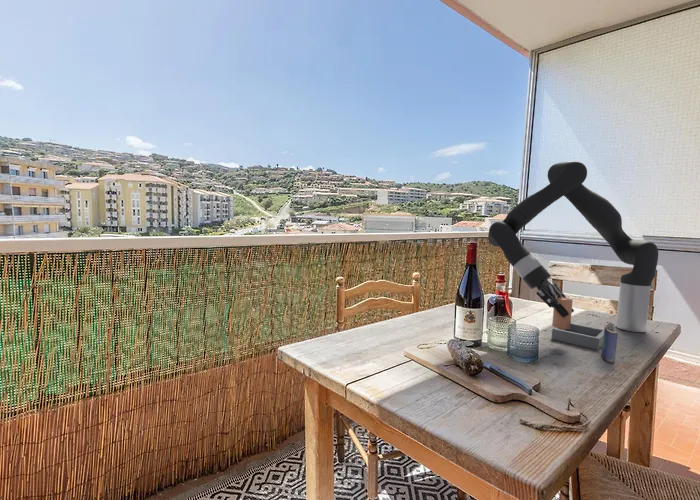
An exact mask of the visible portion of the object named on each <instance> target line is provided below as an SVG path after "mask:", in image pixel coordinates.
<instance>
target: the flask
mask: <svg viewBox="0 0 700 500" xmlns="http://www.w3.org/2000/svg"><path fill="white" fill-rule="evenodd" d="M603 330H604V338H603V345H602V346H601V354H600V357H601V358H602V359H603V361H604V362H606V363H609V364H614V363H615V362H616V353H617V344H618V337H619V333H618V331H617V329H616V322H615V323H613V322H610V321H607V322H606V325H605V326H604V329H603Z"/></svg>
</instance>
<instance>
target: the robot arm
mask: <svg viewBox="0 0 700 500" xmlns="http://www.w3.org/2000/svg"><path fill="white" fill-rule="evenodd" d="M587 176H588V169H587V167H586V165H585V164H584V163H583V162H581V161H576V160H570V161H563V162H557V163H555V164H552V165H551V166H550V167H549V169H548V170H547V179H548V182H549V184H548V185H546V186H545V187H543V188H541V189H540V190H537V191H536V192H535V193H533V194H531V195H529V196H528V197H526V198H525V199H523V200H521V201H520V202H519V203H517V205H516V206H515V207H514V208H512V209H511V210H510V211H509V212H508V213H507V215H506V216H505V218H504V219H503V220H502V221H496V222H493V223H492V224H491V225H490V227H489V229H488V234H487V235H488V237H487V239H488V241H489V244H490V245H491V246H494V247H498V248H500V249H501V250H502V252H503V255H504V257H505V259H506V260H507V261H508V263H509V264H510V266H512V267H513V269H514V270H515V271H516V274H518V276H519V277H520V278H521V279H522V280H523V282H524V283H526V285H527V286H528V287H529V289H531V290H533V289H537V290H538V291H537V292H536V295H537V296H538V297H539V298H540V300H542V301H543V302H544V303H545V304H546V305H547V306H548V307H549V308H553V309H554V308H555V309H556V311H557V312H558V313H559V314H560V315H561V316H562V317H563V318H564V317H566V316H567V315H569V312H568V311H567V310H566V309H565V308H564V307H563V306H562V304H560V302H559V300H558V299H557V297H564V298H567V296H566V295H565V294H564V292H563V291H562V290H561V288H560V287H559V286H558V284H557V283H554V284H553V283H551V282H550V281H549V279H550V278H551V277H552V276H551V274H550V273H549V271H548V270H547V269H546V268H545V267H544V266H543V265H542V263H541V262H540V261H539V260H538V259H537V258H536V256H533V254H531V252H530V251H529V250H528V249H527V247H525V246H524V245H523V244H522V242H521V240H520V239H519V236H517V234H518V233H519V231H521V230H522V229H523V228H524V227H525V226H527V225H528V224H529V223H530V222H531V221H532V220H533V219H535V218H536V217H537V216H538V215H539V214H540V213H542V212H544V210H545V209H547V208H548V207H550V206H551V205H552V204H553V203H554V202H557V201H558V200H559V199H561V198H562V197H565V198H566V199H567V200H568V201H569V202H570V203H571V204H572V206H573V207H574V208H575V209H576V210H577V211H578V212H579V213H580V214H581V215H582V216H583V218H584V219H585V220H586V221H587V222H588V223H589V224H590V225H591V226H592V228H594V230H596V231H597V233H599V235H600V236H601V237H602V238H603V239H604V240H605V241H606V242H607V243H608V245H609V246H610V247H611V249H612V250H613V252H614V254H615V255H616V256H617V258H618V259H619V260H620V261H621V262H622V263H624V264H627V265H630V266H631V265H632V266H633V267H632V270H631V271H630V272H628V273H624V274H622V275H621V277H620V285H619V293H618V301H617V311H616V320H615V328H618V329H620V330H624V331H627V332H634V333H646V332H647V326H648V325H647V324H648V318H649V309H650V308H649V307H650V300H651V299H650V298H651V292H652V291H651V290H652V282H653V281H654V279H655V277H656V271H657V265H658V262H659V249H658V246H657V245H656V244H655V243H654V242H651V241H645V240H634V239H632V237H630V236H629V235H628V234H627V233H626V232H625V231H624V230H623V225H622V224H623V221H622V219H623V218H622V216H621V215H622V214H620V212H619V210H618V209H616V207H615V206H614V205H613V204H612V203H611V202H610V201H609V200H608V199H606V198H605V197H603V195H602V196H601V195H600V194H598V193H596V192H594V191H593V190H591V189H590V188H588V187H586V186H585V185H584V184H583V183H584V182H585V180H586V179H587ZM574 312H575V310H574V308H573V307H572V313H574Z"/></svg>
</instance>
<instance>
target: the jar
mask: <svg viewBox="0 0 700 500" xmlns="http://www.w3.org/2000/svg"><path fill="white" fill-rule="evenodd" d="M557 299H558V300H559V302H560V304H562V306H563V307H564V308H565V309H566V310H567V311H568V312H569V315H567V316H566V317H564V318H563V317H562V316H561V315H560V314H559V313H558V312H557V311H556V309H555V308H553V311H552V322H551V326H552V327H553V328H554V327H556V328H560V329H570V325H571V323H572V313H573V312H572V308H573V301H574V300H573V298H569V297H566V298H564V297H557Z"/></svg>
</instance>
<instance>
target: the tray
mask: <svg viewBox="0 0 700 500" xmlns="http://www.w3.org/2000/svg"><path fill="white" fill-rule="evenodd" d="M603 338H604V329H602V328H599V327H592V326H588V325H584V324H583V325H582V324H578V323H574V322H573V323H572V322H571V325H570V329H560V328H556V327H553V328H552V331H551V340H556V341H558V342H564V343H568V344H571V345H576V346H581V347H584V348H587V349H589V348H590V349H593V350H597V351H598V350H599V349H601V348H602V346H603Z"/></svg>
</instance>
